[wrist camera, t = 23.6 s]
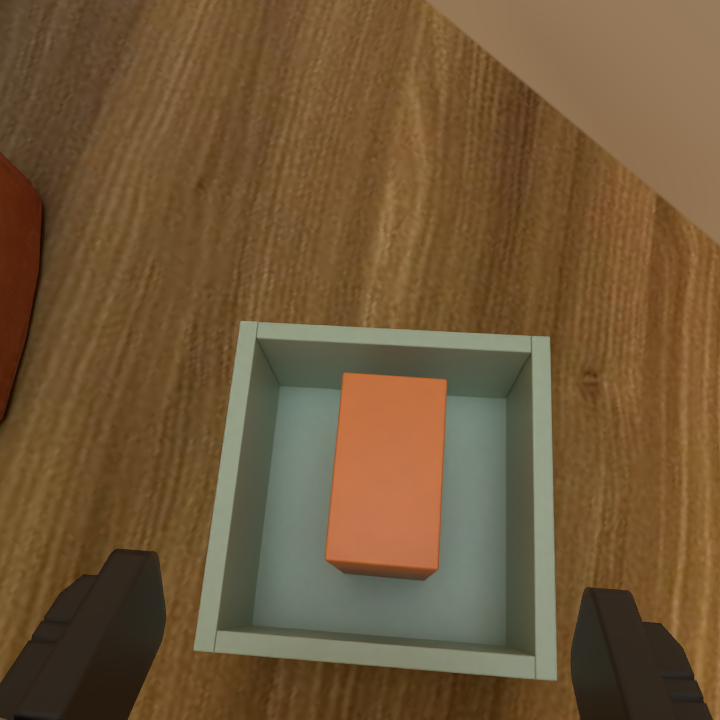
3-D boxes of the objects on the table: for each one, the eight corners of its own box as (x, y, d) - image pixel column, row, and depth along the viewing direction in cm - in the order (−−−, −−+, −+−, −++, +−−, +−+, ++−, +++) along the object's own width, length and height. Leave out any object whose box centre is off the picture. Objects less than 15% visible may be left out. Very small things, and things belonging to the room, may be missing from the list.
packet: (432, 439, 35) (447, 378, 26) (425, 581, 33) (439, 570, 24) (355, 433, 36) (342, 371, 26) (343, 573, 33) (323, 560, 24)
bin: (519, 388, 37) (550, 336, 30) (520, 664, 32) (557, 681, 25) (269, 374, 38) (240, 320, 30) (235, 641, 33) (192, 651, 26)
